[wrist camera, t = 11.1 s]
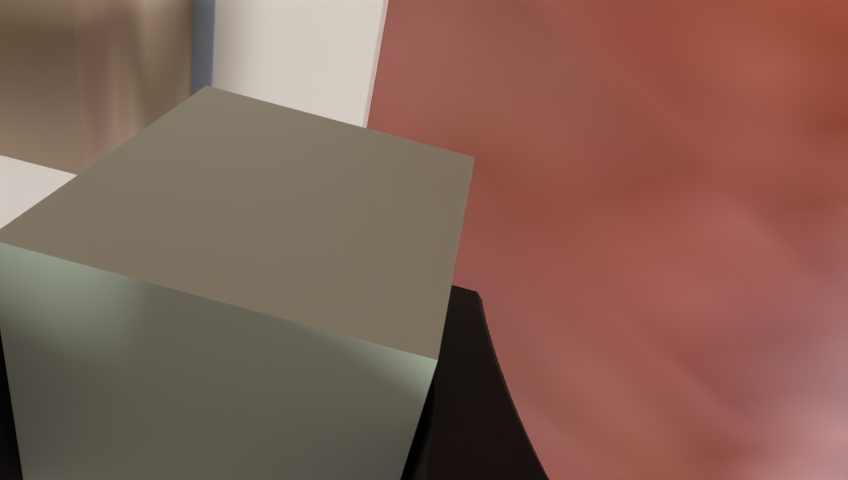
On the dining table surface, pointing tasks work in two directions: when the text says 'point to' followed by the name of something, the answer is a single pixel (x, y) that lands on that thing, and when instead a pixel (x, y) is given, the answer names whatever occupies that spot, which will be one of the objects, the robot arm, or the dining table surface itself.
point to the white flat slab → (258, 69)
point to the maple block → (88, 75)
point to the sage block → (232, 300)
